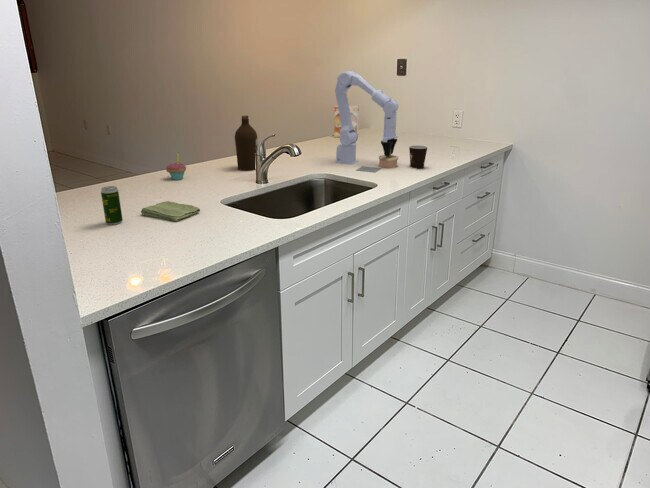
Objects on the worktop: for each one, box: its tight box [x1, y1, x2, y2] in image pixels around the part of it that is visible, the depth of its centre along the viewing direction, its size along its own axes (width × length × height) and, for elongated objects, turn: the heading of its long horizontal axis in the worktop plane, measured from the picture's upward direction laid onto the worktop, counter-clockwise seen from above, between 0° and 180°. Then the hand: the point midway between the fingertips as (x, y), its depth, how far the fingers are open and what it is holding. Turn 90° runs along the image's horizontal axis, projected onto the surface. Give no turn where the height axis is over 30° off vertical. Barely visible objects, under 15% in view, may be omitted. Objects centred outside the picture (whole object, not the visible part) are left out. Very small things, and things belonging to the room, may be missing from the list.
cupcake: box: [165, 152, 187, 181], centre depth 225 cm, size 9×8×12 cm
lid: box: [378, 149, 399, 161], centre depth 248 cm, size 10×10×5 cm
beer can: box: [100, 185, 123, 226], centre depth 169 cm, size 5×5×12 cm
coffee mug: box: [408, 144, 428, 170], centre depth 249 cm, size 12×9×10 cm
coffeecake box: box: [333, 104, 360, 138], centre depth 328 cm, size 15×7×20 cm, turn 80°
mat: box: [355, 165, 383, 174], centre depth 244 cm, size 10×10×1 cm
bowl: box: [378, 158, 398, 169], centre depth 250 cm, size 8×8×4 cm
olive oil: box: [234, 114, 258, 172], centre depth 242 cm, size 11×11×25 cm
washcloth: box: [140, 200, 201, 222], centre depth 180 cm, size 13×18×3 cm
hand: (388, 154), depth 249 cm, fingers open, 5 cm apart
